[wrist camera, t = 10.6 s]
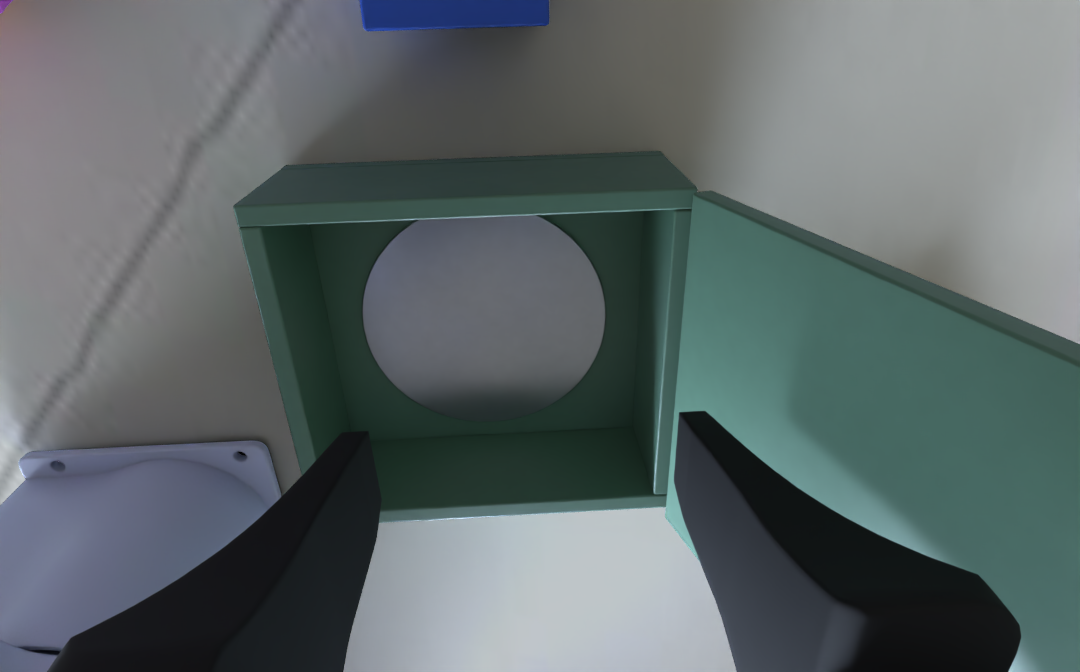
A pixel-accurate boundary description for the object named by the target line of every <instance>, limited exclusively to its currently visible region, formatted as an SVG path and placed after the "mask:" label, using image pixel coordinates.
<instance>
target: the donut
mask: <svg viewBox="0 0 1080 672" xmlns="http://www.w3.org/2000/svg"><path fill="white" fill-rule="evenodd" d="M12 1H13V0H0V13H2V12H3V11H4V10H5V8H6V7H7V6H8V5H9V4H10V3H11V2H12Z"/></svg>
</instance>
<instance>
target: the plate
mask: <svg viewBox="0 0 1080 672" xmlns="http://www.w3.org/2000/svg"><path fill="white" fill-rule="evenodd" d="M362 317H363V327H364V331H365V335H366V339H367V343H368V345H369V348H370V350H371V353H372V355H373V357H374V358H375V360H376V362H377V364H378V365H379V367H380V369H381V370H382V371H383V372H384V374H385V375H386V376H387V378H388V379H389V380H390V381H391V382H392V383H393V384H394V385H395V386H396V387H397V388H398V389H399V390H400V391H401V392H403V393H404V394H405V395H407V396H408V397H409V398H410V399H412V400H414V401H415V402H417V403H419V404H420V405H422V406H424V407H426V408H428V409H430V410H432V411H434V412H437V413H440V414H443V415H446V416H449V417H453V418H457V419H462V420H469V421H478V422H493V421H503V420H510V419H514V418H519V417H523V416H526V415H529V414H532V413H535V412H537V411H539V410H541V409H543V408H546V407H548V406H549V405H551V404H553V403H554V402H556V401H557V400H559V399H561V398H562V397H563V396H564V395H566V394H567V393H568V392H569V391H571V390H572V389H573V388H574V387H575V386H576V385H577V384H578V383H579V382H580V381H581V379H582V378H583V377H584V375H585V374H586V373H587V371H588V370H589V369H590V367H591V365H592V363H593V362H594V360H595V358H596V356H597V353H598V351H599V348H600V346H601V343H602V339H603V335H604V331H605V320H606V309H605V299H604V294H603V289H602V286H601V283H600V280H599V277H598V274H597V272H596V270H595V268H594V266H593V264H592V262H591V260H590V259H589V257H588V256H587V255H586V253H585V252H584V250H583V249H582V248H581V246H580V245H579V244H578V243H577V242H576V241H575V240H574V239H573V238H572V237H571V236H570V235H569V234H568V233H566V232H565V231H564V230H563V229H561V228H560V227H559V226H558V225H556V224H554V223H553V222H551V221H549V220H548V219H546V218H544V217H543V216H540V215H527V216H502V217H477V218H452V219H428V220H416V221H414V222H412V223H411V224H409V225H408V226H407V227H405V228H404V229H403V230H401V231H400V232H399V233H398V234H397V235H396V236H395V237H394V238H393V239H392V240H391V241H390V242H389V243H388V244H387V245H386V247H385V248H384V249H383V251H382V252H381V253H380V255H379V256H378V258H377V260H376V262H375V264H374V265H373V267H372V269H371V272H370V274H369V277H368V280H367V282H366V286H365V291H364V296H363V307H362Z"/></svg>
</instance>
